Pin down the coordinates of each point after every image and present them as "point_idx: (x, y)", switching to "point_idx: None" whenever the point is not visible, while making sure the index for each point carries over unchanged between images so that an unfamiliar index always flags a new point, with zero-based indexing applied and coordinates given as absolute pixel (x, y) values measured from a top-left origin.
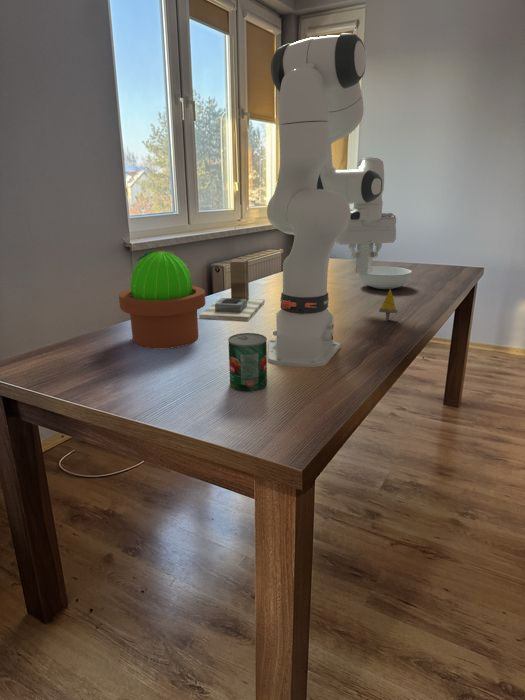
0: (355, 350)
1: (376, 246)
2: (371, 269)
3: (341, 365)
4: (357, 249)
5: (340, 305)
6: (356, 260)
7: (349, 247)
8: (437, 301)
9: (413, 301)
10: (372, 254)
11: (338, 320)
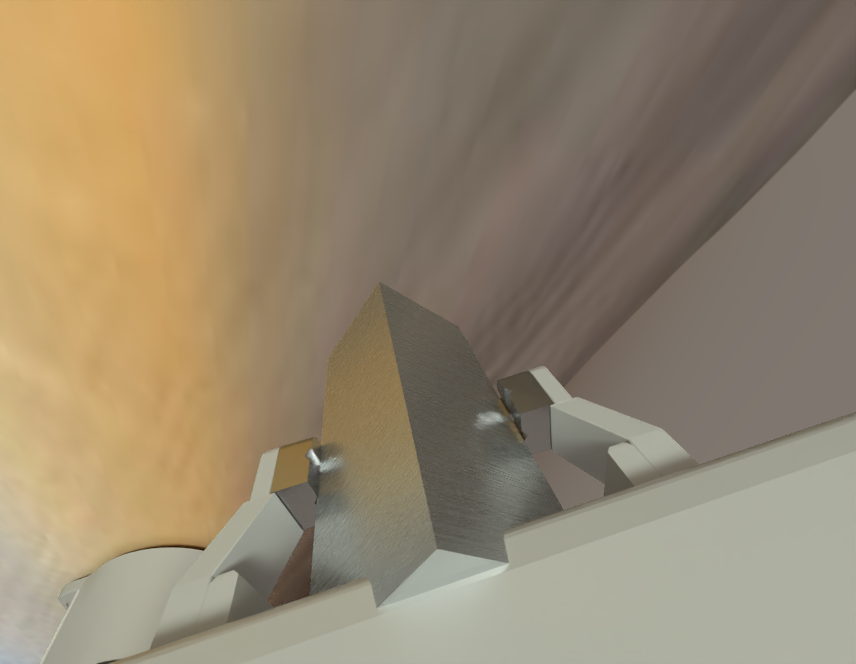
0: (297, 570)
1: (620, 446)
2: (462, 337)
3: None
4: (321, 537)
5: (276, 145)
6: (324, 429)
7: (188, 598)
8: (769, 118)
9: (678, 100)
10: (507, 424)
11: (261, 393)
